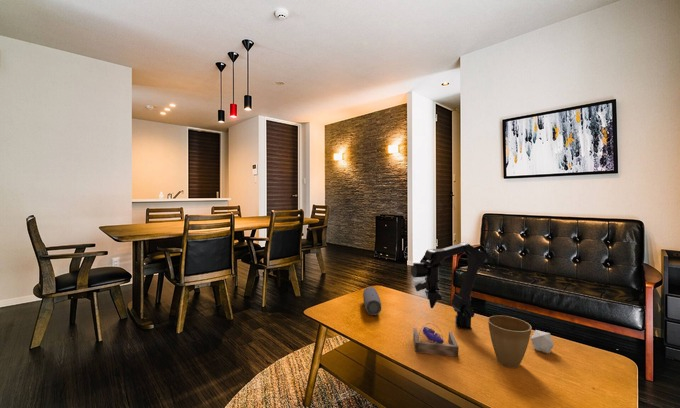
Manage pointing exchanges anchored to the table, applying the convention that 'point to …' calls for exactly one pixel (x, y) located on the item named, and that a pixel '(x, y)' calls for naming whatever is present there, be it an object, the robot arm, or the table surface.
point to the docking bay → (436, 346)
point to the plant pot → (509, 339)
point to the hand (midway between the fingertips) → (431, 307)
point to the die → (542, 341)
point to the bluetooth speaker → (371, 301)
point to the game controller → (432, 335)
